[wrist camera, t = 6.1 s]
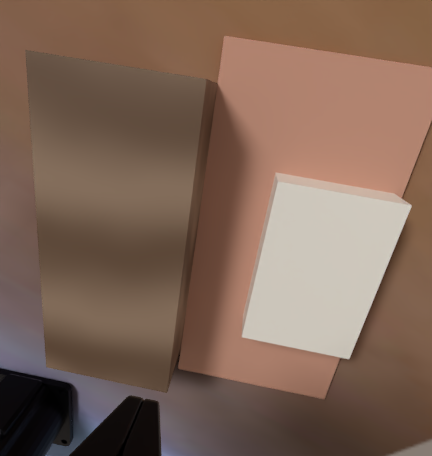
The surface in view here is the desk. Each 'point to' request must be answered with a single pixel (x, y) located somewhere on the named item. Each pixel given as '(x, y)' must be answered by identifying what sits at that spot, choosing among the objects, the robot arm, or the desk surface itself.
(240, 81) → the mat
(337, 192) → the white flat block
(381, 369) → the desk surface
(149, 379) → the brown long block
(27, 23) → the desk surface
